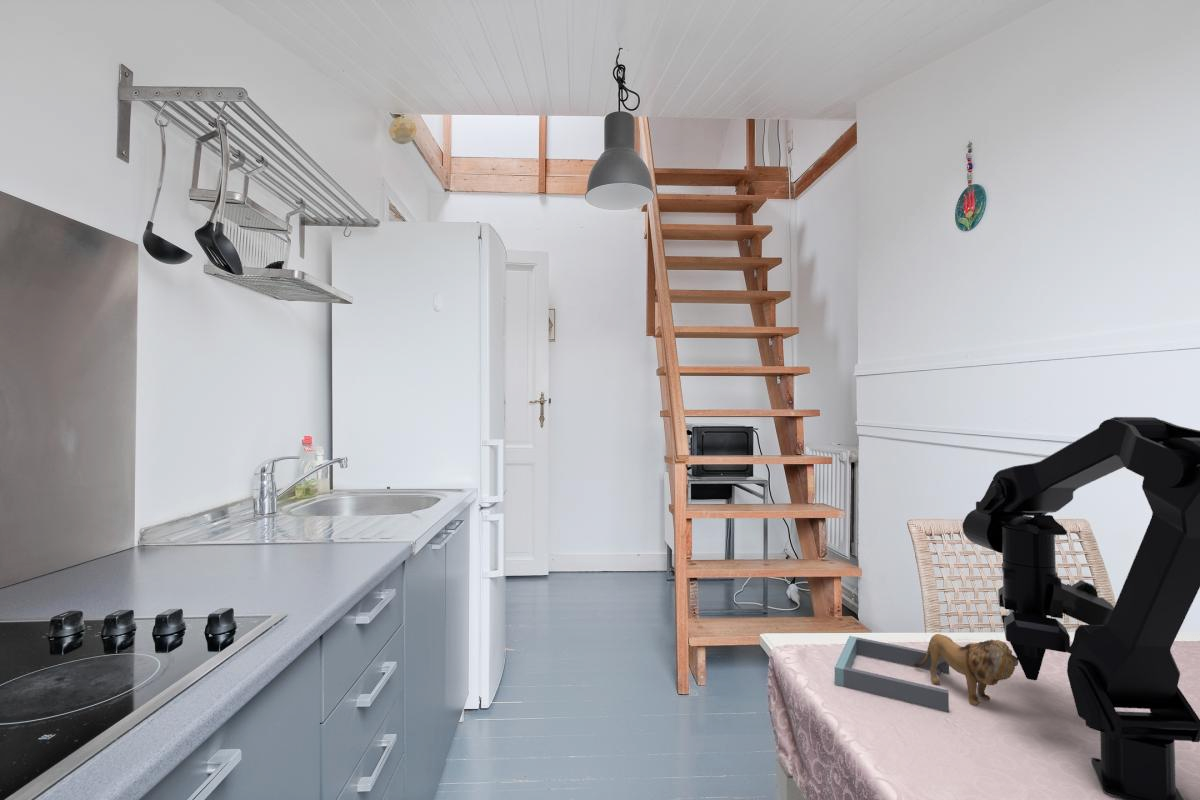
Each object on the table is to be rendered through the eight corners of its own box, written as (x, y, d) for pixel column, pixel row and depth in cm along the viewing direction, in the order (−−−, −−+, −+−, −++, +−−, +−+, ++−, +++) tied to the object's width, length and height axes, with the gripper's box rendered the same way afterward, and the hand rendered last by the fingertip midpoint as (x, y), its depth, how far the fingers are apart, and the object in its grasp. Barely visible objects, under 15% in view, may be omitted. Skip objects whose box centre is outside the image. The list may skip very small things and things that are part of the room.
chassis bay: (948, 712, 74) (948, 693, 74) (834, 684, 82) (834, 667, 82) (949, 671, 86) (949, 655, 86) (849, 650, 93) (849, 635, 93)
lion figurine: (1026, 711, 74) (1025, 643, 74) (1001, 719, 72) (1000, 649, 72) (925, 665, 88) (924, 608, 88) (901, 671, 86) (900, 612, 86)
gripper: (1125, 590, 63) (1130, 729, 63) (1093, 556, 79) (1096, 667, 78) (1004, 575, 69) (1008, 702, 69) (996, 546, 85) (999, 649, 84)
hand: (1031, 678), depth 75 cm, fingers closed
